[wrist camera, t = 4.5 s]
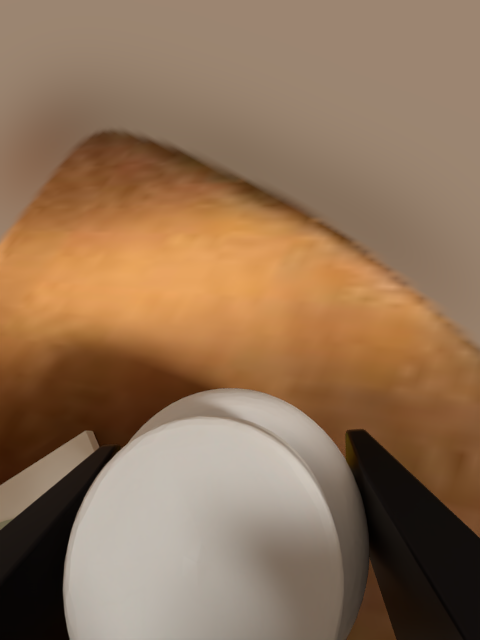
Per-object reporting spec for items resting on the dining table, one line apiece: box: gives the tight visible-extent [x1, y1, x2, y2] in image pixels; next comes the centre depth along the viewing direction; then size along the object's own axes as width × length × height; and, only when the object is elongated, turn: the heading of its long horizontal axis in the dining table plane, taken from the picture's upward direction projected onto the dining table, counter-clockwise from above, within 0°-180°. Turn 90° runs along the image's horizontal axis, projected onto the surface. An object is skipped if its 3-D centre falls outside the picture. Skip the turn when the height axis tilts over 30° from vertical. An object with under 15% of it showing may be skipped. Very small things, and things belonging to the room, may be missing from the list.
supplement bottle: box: [63, 388, 369, 640], centre depth 9 cm, size 6×6×10 cm
